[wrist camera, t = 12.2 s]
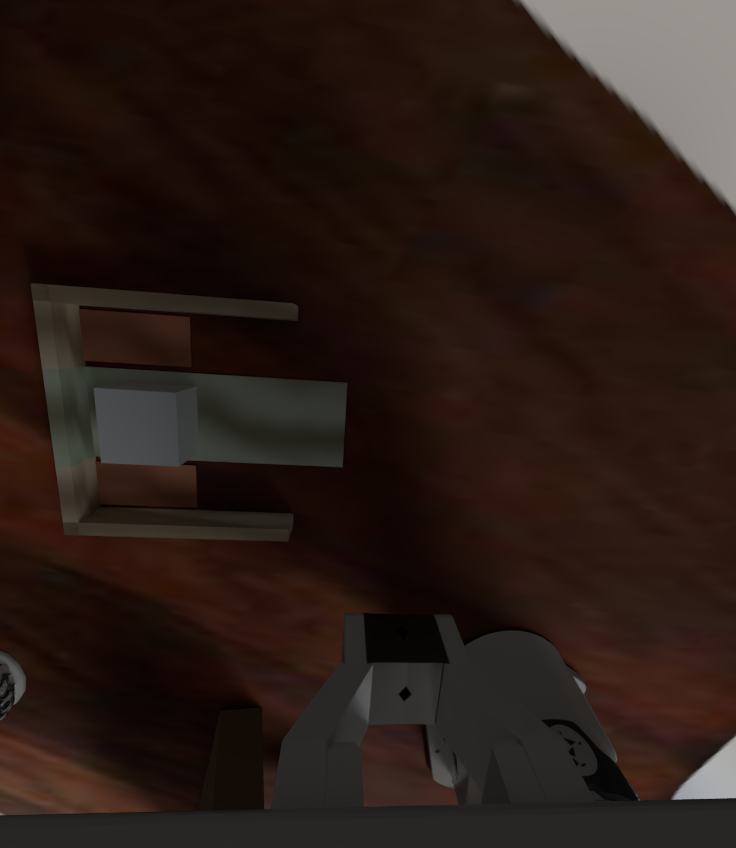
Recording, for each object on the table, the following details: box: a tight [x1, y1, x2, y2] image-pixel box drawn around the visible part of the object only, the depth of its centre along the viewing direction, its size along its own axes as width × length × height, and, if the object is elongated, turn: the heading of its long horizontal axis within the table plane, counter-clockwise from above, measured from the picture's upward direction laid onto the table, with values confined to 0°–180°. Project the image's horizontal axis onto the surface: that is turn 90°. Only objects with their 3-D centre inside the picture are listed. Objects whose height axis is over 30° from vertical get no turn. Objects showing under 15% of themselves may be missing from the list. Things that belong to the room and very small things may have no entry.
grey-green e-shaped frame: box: [31, 283, 347, 541], centre depth 31 cm, size 20×24×3 cm
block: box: [94, 382, 199, 467], centre depth 30 cm, size 6×6×4 cm
